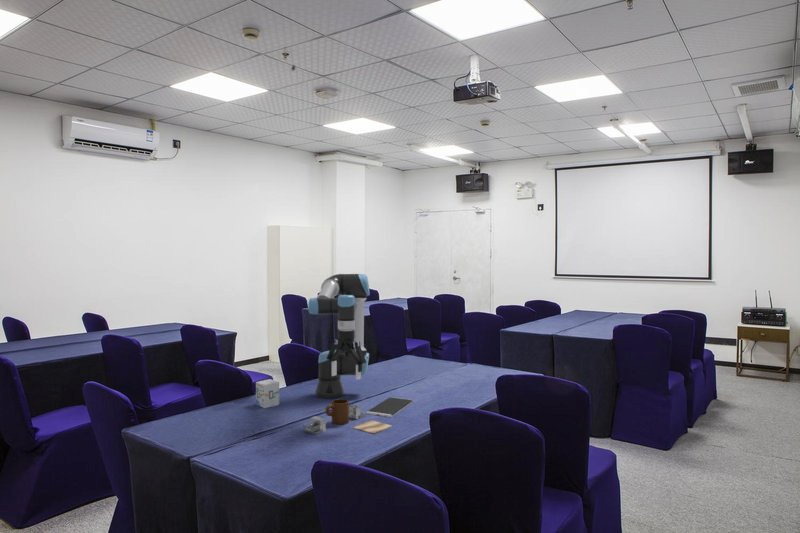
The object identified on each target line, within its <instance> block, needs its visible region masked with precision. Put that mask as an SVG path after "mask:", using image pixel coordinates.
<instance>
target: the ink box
mask: <svg viewBox="0 0 800 533" xmlns="http://www.w3.org/2000/svg"><path fill="white" fill-rule="evenodd" d="M279 405H280V381H278V380H274V379H272V378H271V379H270V378H269V379H264V380H260V381H256V382H255V406H258V407H261V408H263V409H266V408H272V407H276V406H279Z"/></svg>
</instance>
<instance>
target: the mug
mask: <svg viewBox="0 0 800 533" xmlns="http://www.w3.org/2000/svg"><path fill="white" fill-rule="evenodd" d="M349 405H350V404H349V400H348V399H343V398H338V399H337V398H336V399H334V400H331V404H328V405H327V406H326V407H325V415H326V416H328V417H331V423H332V424H334V425H337V426H338V425H345V424H348V423H349V419H350V418H349ZM330 409H331V411H330Z"/></svg>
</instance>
